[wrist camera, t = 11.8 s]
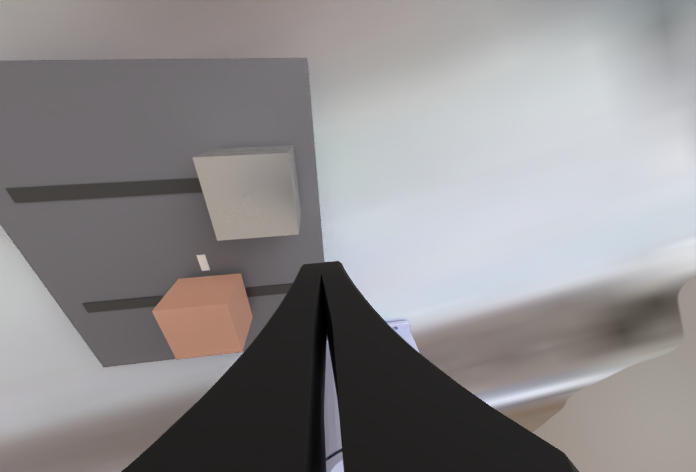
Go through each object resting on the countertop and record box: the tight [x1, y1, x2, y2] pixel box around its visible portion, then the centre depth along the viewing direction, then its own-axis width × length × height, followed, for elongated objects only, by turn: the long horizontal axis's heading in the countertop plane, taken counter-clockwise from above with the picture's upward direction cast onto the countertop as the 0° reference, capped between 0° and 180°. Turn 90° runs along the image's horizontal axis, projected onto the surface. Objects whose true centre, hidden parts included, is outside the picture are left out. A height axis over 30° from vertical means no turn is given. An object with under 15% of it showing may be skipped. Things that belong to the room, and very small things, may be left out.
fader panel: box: [0, 58, 328, 367], centre depth 17 cm, size 18×20×2 cm
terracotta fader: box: [152, 273, 253, 360], centre depth 16 cm, size 4×4×3 cm
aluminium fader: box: [192, 145, 301, 241], centre depth 13 cm, size 4×4×3 cm
